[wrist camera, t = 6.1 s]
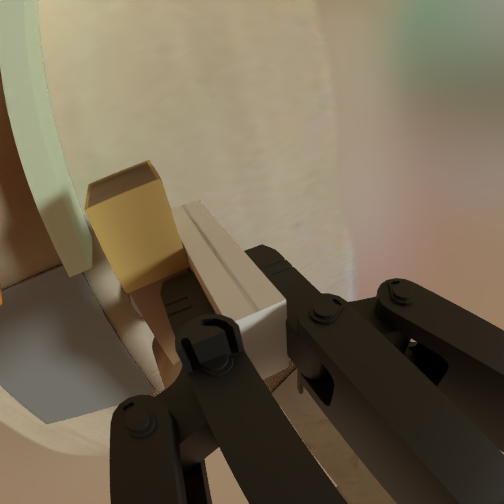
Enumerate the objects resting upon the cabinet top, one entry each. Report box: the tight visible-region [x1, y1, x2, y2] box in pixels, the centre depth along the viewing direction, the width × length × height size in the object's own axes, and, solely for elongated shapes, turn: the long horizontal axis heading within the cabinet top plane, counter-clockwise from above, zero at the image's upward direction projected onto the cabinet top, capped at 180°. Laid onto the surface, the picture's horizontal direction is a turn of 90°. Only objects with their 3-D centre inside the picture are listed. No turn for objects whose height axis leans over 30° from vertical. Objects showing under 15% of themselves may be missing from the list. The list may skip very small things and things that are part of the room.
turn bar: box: [85, 160, 190, 389], centre depth 15 cm, size 4×23×2 cm, turn 9°
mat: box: [0, 264, 156, 424], centre depth 16 cm, size 14×12×1 cm
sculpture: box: [272, 368, 397, 504], centre depth 21 cm, size 15×8×30 cm, turn 137°
